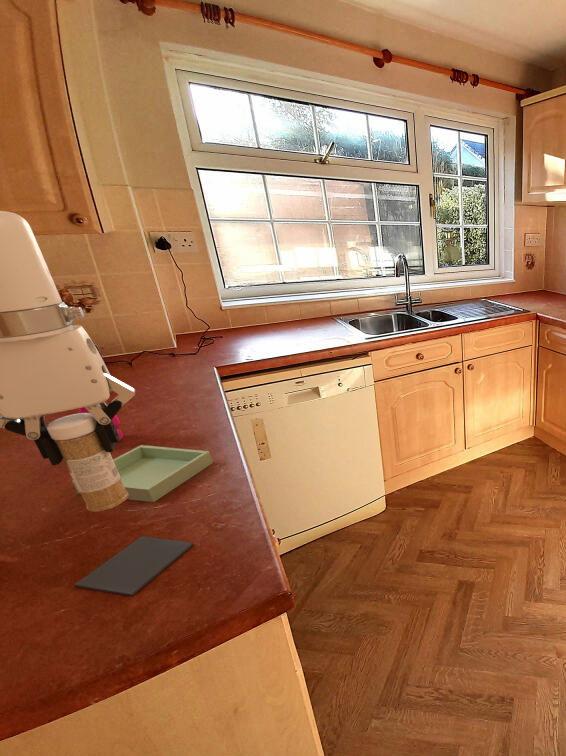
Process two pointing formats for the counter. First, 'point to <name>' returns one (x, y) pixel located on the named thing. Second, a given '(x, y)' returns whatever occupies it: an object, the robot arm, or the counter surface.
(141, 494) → the tray
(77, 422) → the sprinkles bottle
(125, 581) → the mat
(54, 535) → the counter surface
